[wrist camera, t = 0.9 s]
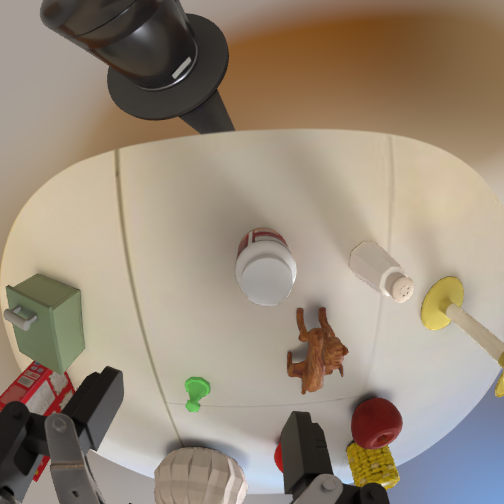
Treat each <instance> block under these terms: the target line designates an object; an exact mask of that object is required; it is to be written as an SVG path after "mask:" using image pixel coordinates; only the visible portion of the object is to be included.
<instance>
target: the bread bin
mask: <svg viewBox="0 0 504 504" xmlns="http://www.w3.org/2000/svg"><path fill="white" fill-rule="evenodd" d="M13 288H15V289H17V290H19V291H21V292H23V293H25V294H27V295H29V296H31V297H33V298H35V299H37V300H39V301H41V302H44V303H46V304H48V305H50V306H52V313H53V320H54V327H55V333H56V339H57V344H58V349H59V354H60V359H61V363H62V367H63V372H65V371H66V370H67V368H68V367H69V366H70V365H71V364H72V363H73V361H74V360H75V359H76V358H77V357H78V356H79V355H80V353H81V352H82V351H83V350H84V349H85V345H84V337H83V327H82V316H81V302H80V290H78V289H75V288H72V287H70V286H67V285H64V284H62V283H59V282H56V281H54V280H51V279H49V278H46V277H44V276H42V275H39V274H36V275H34V276H32V277H30V278H29V279H27V280H25V281H23V282H22V283H20V284H18V285H16V286H15V287H13Z"/></svg>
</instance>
